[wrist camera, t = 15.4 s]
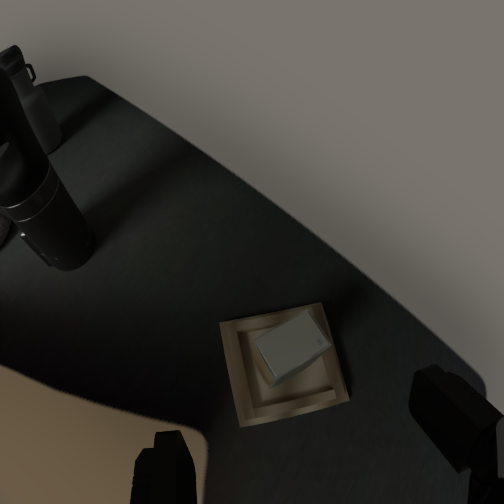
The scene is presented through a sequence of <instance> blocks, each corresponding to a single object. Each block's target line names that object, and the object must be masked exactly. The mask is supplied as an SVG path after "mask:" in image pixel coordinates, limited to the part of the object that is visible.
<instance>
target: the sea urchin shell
mask: <svg viewBox="0 0 504 504" xmlns="http://www.w3.org/2000/svg"><path fill="white" fill-rule="evenodd" d="M10 224H11V218H10V217H9V216H8V215H7V214H6V213H5V211H4V210H3V209H2V208H1V207H0V246H1V245H2V243H4V239H5V238H6V236H7V234H8V231H9V227H10Z"/></svg>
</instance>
